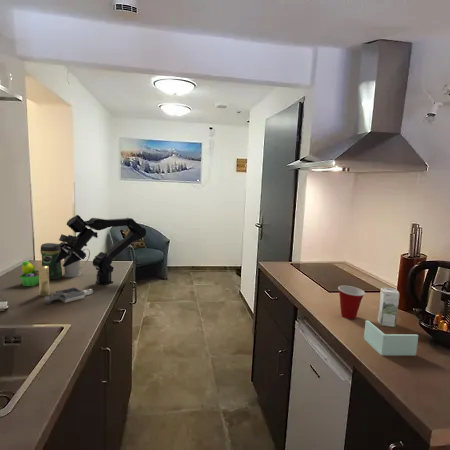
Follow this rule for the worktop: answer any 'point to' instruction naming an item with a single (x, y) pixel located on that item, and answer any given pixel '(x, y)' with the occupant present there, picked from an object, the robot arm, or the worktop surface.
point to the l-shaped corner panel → (390, 341)
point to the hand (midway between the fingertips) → (59, 264)
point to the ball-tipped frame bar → (68, 295)
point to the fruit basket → (29, 274)
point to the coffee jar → (51, 259)
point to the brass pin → (44, 280)
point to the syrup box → (388, 307)
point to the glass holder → (73, 268)
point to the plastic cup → (350, 301)
